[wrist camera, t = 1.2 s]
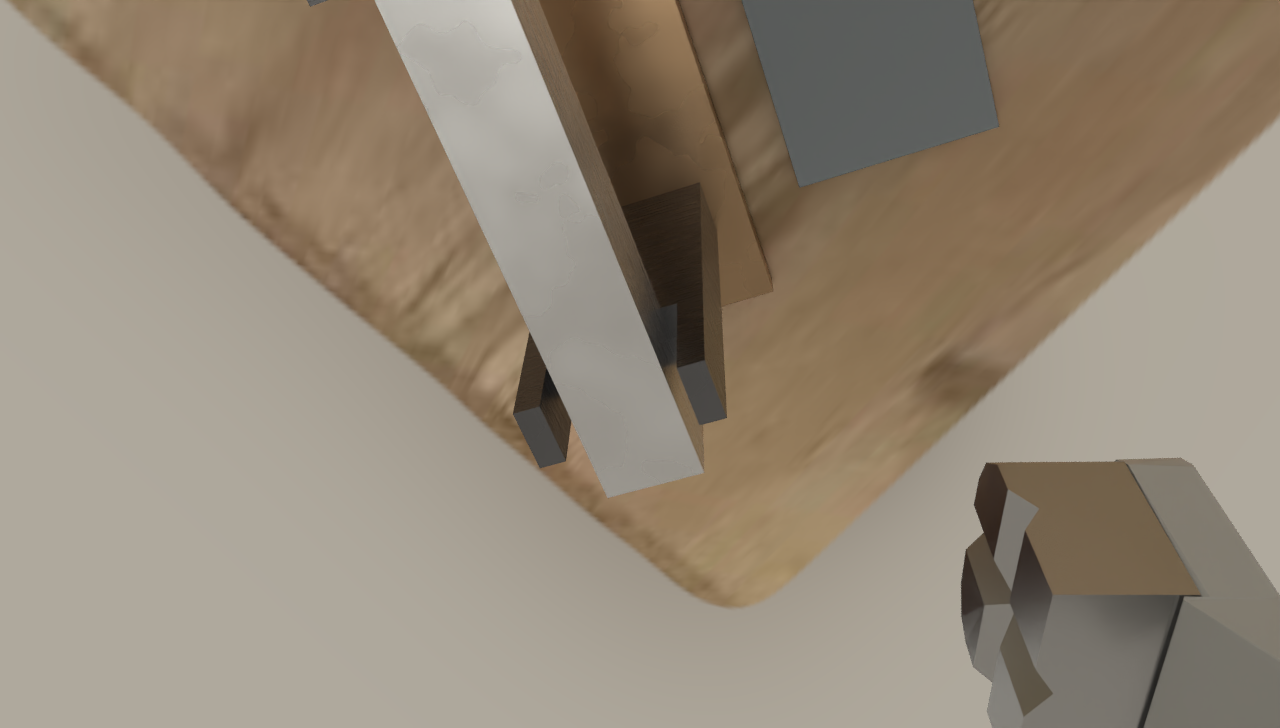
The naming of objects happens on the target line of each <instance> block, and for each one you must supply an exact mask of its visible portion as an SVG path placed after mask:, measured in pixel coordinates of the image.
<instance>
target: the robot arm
mask: <svg viewBox="0 0 1280 728" xmlns="http://www.w3.org/2000/svg"><path fill="white" fill-rule="evenodd" d="M974 506H975V509H976V512H977V515H978V518H979V520H980V523H981V526H982V529H983V532H984V533H983V534H982V535H981V536H980V537H979V538H978V539H977V540H975V541H974V542H973V543H972V544H971V545H970V546H969V547H968V548H967V549H966V552H965V559H964V567H963V573H962V580H961V617H962V623H963V629H964V635H965V641H966V644H967V648H968V651H969V655H970V658H971V661H972V665H973V667H974V668H975V669H976V670H978V671H979V672H980V673H981V674H982V675H984V676H985V677H986V678H988V679H989V680H990V681H991V682H992V689H991V693H990V698H989V703H988V708H987V713H988V716H989V719H990V722H991V725H992V728H1280V595H1279V593H1278V592H1277V591H1276V589H1275V587H1274V586H1273V584H1272V583H1271V582H1270V580H1269V578H1268V577H1267V575H1266V574H1265V572H1264V571H1263V569H1262V568H1261V567H1260V565H1259V564H1258V562H1257V560H1256V559H1255V557H1254V556H1253V554H1252V553H1251V551H1250V550H1249V548H1248V547H1247V545H1246V544H1245V542H1244V541H1243V539H1242V538H1241V536H1240V535H1239V533H1238V532H1237V530H1236V529H1235V527H1234V526H1233V524H1232V523H1231V521H1230V520H1229V518H1228V517H1227V515H1226V514H1225V512H1224V511H1223V509H1222V508H1221V506H1220V505H1219V503H1218V502H1217V500H1216V499H1215V497H1214V496H1213V494H1212V493H1211V491H1210V490H1209V488H1208V486H1207V485H1206V484H1205V482H1204V481H1203V479H1202V478H1201V476H1200V474H1199V473H1198V471H1197V470H1196V468H1195V467H1194V466H1193V465H1192V464H1191V463H1189V462H1187V461H1185V460H1184V459H1182V458H1162V459H1161V458H1158V459H1124V460H1116V461H1115V462H1018V463H1016V462H1013V463H1011V462H1008V463H986V464H985V466H984V469H983V471H982V473H981V476H980V478H979V482H978V486H977V492H976V497H975V502H974Z"/></svg>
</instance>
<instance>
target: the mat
mask: <svg viewBox="0 0 1280 728" xmlns="http://www.w3.org/2000/svg"><path fill="white" fill-rule="evenodd" d="M742 3H743V6H744V9H745V13H746V16H747V19H748V22H749V26H750V29H751V32H752V35H753V38H754V42H755V45H756V48H757V51H758V55H759V58H760V61H761V64H762V68H763V71H764V74H765V77H766V81H767V84H768V87H769V90H770V94H771V97H772V100H773V103H774V106H775V110H776V113H777V116H778V119H779V123H780V126H781V129H782V132H783V136H784V139H785V142H786V145H787V149H788V152H789V155H790V158H791V162H792V165H793V168H794V171H795V174H796V178H797V181H798V184H799V187H803V186H807V185H810V184H813V183H816V182H820V181H823V180H826V179H830V178H833V177H836V176H839V175H843V174H846V173H849V172H853V171H856V170H859V169H862V168H866V167H869V166H872V165H875V164H879V163H882V162H885V161H889V160H892V159H895V158H898V157H902V156H905V155H908V154H912V153H915V152H918V151H921V150H925V149H928V148H931V147H934V146H938V145H941V144H944V143H948V142H951V141H954V140H957V139H961V138H964V137H967V136H971V135H974V134H977V133H980V132H984V131H987V130H990V129H993V128H997V127H999V124H998V119H997V114H996V110H995V105H994V100H993V95H992V90H991V86H990V81H989V76H988V71H987V66H986V62H985V57H984V52H983V47H982V42H981V38H980V33H979V28H978V23H977V18H976V14H975V9H974V4H973V0H742Z"/></svg>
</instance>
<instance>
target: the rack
mask: <svg viewBox="0 0 1280 728" xmlns="http://www.w3.org/2000/svg"><path fill="white" fill-rule="evenodd" d="M307 1H308V3H309V5H310V7H311V6H313V5H316V4H319V3H321V2H324V1H327V0H307ZM539 2H540V5H541V7H542V10H543V12H544V15H545V17H546V20H547V22H548V25H549V27H550V30H551V32H552V35H553V37H554V40H555V42H556V45H557V47H558V50H559V53H560V55H561V58H562V60H563V63H564V65H565V68H566V70H567V73H568V75H569V78H570V80H571V83H572V85H573V88H574V90H575V93H576V95H577V98H578V100H579V103H580V105H581V108H582V110H583V113H584V115H585V118H586V121H587V123H588V126H589V128H590V131H591V133H592V136H593V138H594V141H595V143H596V146H597V148H598V151H599V153H600V156H601V158H602V161H603V163H604V166H605V168H606V171H607V173H608V176H609V178H610V181H611V183H612V186H613V189H614V191H615V194H616V196H617V199H618V201H619V204H620V206H621V209H622V211H623V214H624V216H625V219H626V221H627V224H628V226H629V229H630V231H631V234H632V236H633V239H634V241H635V244H636V246H637V249H638V251H639V254H640V257H641V259H642V262H643V264H644V267H645V269H646V272H647V274H648V277H649V279H650V282H651V284H652V287H653V289H654V292H655V294H656V297H657V299H658V302H659V304H660V307H661V309H662V312H663V314H664V317H665V319H666V322H667V325H668V327H669V330H670V332H671V335H672V337H673V340H674V342H675V345H676V347H677V366H676V368H677V371H678V373H679V376H680V378H681V381H682V383H683V386H684V388H685V391H686V393H687V396H688V398H689V401H690V403H691V406H692V408H693V411H694V413H695V416H696V418H697V421H698V423H699V425H703V424H706V423H710V422H714V421H717V420H721V419H725V418H727V410H726V391H725V372H724V352H723V333H722V314H721V306H724V305H728V304H731V303H735V302H738V301H742V300H745V299H749V298H752V297H756V296H759V295H763V294H766V293H769V292H773V286H772V278H771V275H770V272H769V269H768V266H767V263H766V260H765V257H764V254H763V251H762V248H761V245H760V242H759V239H758V236H757V233H756V230H755V227H754V224H753V222H752V219H751V216H750V213H749V210H748V207H747V204H746V201H745V198H744V195H743V192H742V189H741V186H740V183H739V180H738V177H737V174H736V171H735V168H734V165H733V162H732V159H731V156H730V153H729V150H728V147H727V144H726V141H725V138H724V135H723V132H722V129H721V126H720V123H719V120H718V118H717V115H716V112H715V109H714V106H713V103H712V100H711V97H710V94H709V91H708V88H707V85H706V82H705V79H704V76H703V73H702V70H701V67H700V64H699V61H698V58H697V55H696V52H695V49H694V46H693V43H692V40H691V37H690V34H689V31H688V28H687V25H686V22H685V19H684V16H683V14H682V11H681V8H680V5H679V2H678V0H539ZM513 415H514V417H515V419H516V421H517V423H518V425H519V427H520V429H521V431H522V433H523V435H524V437H525V439H526V441H527V443H528V445H529V447H530V449H531V451H532V453H533V455H534V457H535V459H536V461H537V463H538V465H539V467H540V468H542V467H546V466H550V465H554V464H557V463H561V462H565V461H566V457H567V449H568V442H569V434H570V427H571V419H570V416H569V414H568V412H567V410H566V408H565V406H564V404H563V402H562V399H561V397H560V395H559V393H558V391H557V389H556V387H555V384H554V382H553V380H552V378H551V376H550V374H549V372H548V370H547V367H546V365H545V363H544V361H543V359H542V357H541V355H540V352H539V350H538V348H537V346H536V344H535V342H534V340H533V338H532V335H531V333H529V338H528V343H527V347H526V352H525V357H524V362H523V367H522V372H521V377H520V382H519V387H518V392H517V397H516V401H515V406H514V411H513Z"/></svg>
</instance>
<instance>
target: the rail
mask: <svg viewBox="0 0 1280 728" xmlns="http://www.w3.org/2000/svg"><path fill="white" fill-rule="evenodd" d="M375 2H376V4H377V7H378V9H379V11H380V13H381V15H382V17H383V19H384V22H385V24H386V26H387V28H388V30H389V32H390V34H391V37H392V39H393V41H394V43H395V45H396V47H397V49H398V51H399V54H400V56H401V58H402V60H403V62H404V64H405V66H406V69H407V71H408V73H409V75H410V77H411V79H412V81H413V83H414V86H415V88H416V90H417V92H418V94H419V96H420V98H421V101H422V103H423V105H424V107H425V109H426V111H427V113H428V115H429V118H430V120H431V122H432V124H433V126H434V128H435V130H436V133H437V135H438V137H439V139H440V141H441V143H442V145H443V148H444V150H445V152H446V154H447V156H448V158H449V160H450V162H451V165H452V167H453V169H454V171H455V173H456V175H457V177H458V180H459V182H460V184H461V186H462V188H463V190H464V192H465V194H466V197H467V199H468V201H469V203H470V205H471V207H472V209H473V212H474V214H475V216H476V218H477V220H478V222H479V224H480V226H481V229H482V231H483V233H484V235H485V237H486V239H487V241H488V244H489V246H490V248H491V250H492V252H493V254H494V256H495V259H496V261H497V263H498V265H499V267H500V269H501V271H502V273H503V276H504V278H505V280H506V282H507V284H508V286H509V288H510V291H511V293H512V295H513V297H514V299H515V301H516V303H517V305H518V308H519V310H520V312H521V314H522V316H523V318H524V320H525V323H526V325H527V327H528V329H529V331H530V333H531V335H532V338H533V340H534V342H535V344H536V346H537V348H538V350H539V352H540V355H541V357H542V359H543V361H544V363H545V365H546V367H547V370H548V372H549V374H550V376H551V378H552V380H553V382H554V384H555V387H556V389H557V391H558V393H559V395H560V397H561V399H562V402H563V404H564V406H565V408H566V410H567V412H568V414H569V416H570V419H571V421H572V423H573V425H574V427H575V429H576V431H577V434H578V436H579V438H580V440H581V442H582V444H583V446H584V449H585V451H586V453H587V455H588V457H589V459H590V461H591V463H592V466H593V468H594V470H595V472H596V474H597V476H598V478H599V481H600V483H601V485H602V487H603V489H604V491H605V493H606V495H607V498H609V497H613V496H617V495H621V494H624V493H628V492H632V491H636V490H640V489H644V488H647V487H651V486H655V485H659V484H663V483H667V482H671V481H674V480H678V479H682V478H686V477H690V476H694V475H697V474H701V473H704V444H703V425H699V423H698V421H697V418H696V416H695V413H694V411H693V408H692V406H691V403H690V401H689V398H688V396H687V393H686V391H685V388H684V386H683V383H682V381H681V378H680V376H679V373H678V371H677V368H676V366H677V347H676V345H675V342H674V340H673V337H672V335H671V332H670V330H669V327H668V325H667V322H666V319H665V317H664V314H663V312H662V309H661V307H660V304H659V302H658V299H657V297H656V294H655V292H654V289H653V287H652V284H651V282H650V279H649V277H648V274H647V272H646V269H645V267H644V264H643V262H642V259H641V257H640V254H639V251H638V249H637V246H636V244H635V241H634V239H633V236H632V234H631V231H630V229H629V226H628V224H627V221H626V219H625V216H624V214H623V211H622V209H621V206H620V204H619V201H618V199H617V196H616V194H615V191H614V189H613V186H612V183H611V181H610V178H609V176H608V173H607V171H606V168H605V166H604V163H603V161H602V158H601V156H600V153H599V151H598V148H597V146H596V143H595V141H594V138H593V136H592V133H591V131H590V128H589V126H588V123H587V121H586V118H585V115H584V113H583V110H582V108H581V105H580V103H579V100H578V98H577V95H576V93H575V90H574V88H573V85H572V83H571V80H570V78H569V75H568V73H567V70H566V68H565V65H564V63H563V60H562V58H561V55H560V53H559V50H558V47H557V45H556V42H555V40H554V37H553V35H552V32H551V30H550V27H549V25H548V22H547V20H546V17H545V15H544V12H543V10H542V7H541V5H540V2H539V0H375Z"/></svg>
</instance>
